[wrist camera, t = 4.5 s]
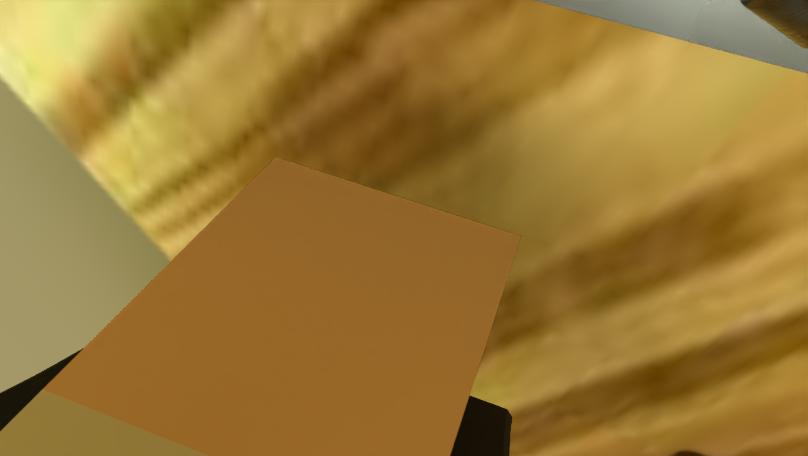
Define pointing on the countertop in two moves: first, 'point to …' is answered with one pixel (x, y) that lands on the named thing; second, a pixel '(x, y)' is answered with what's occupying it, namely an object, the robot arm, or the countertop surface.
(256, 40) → the countertop surface
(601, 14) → the base plate
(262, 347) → the block
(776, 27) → the shaft
